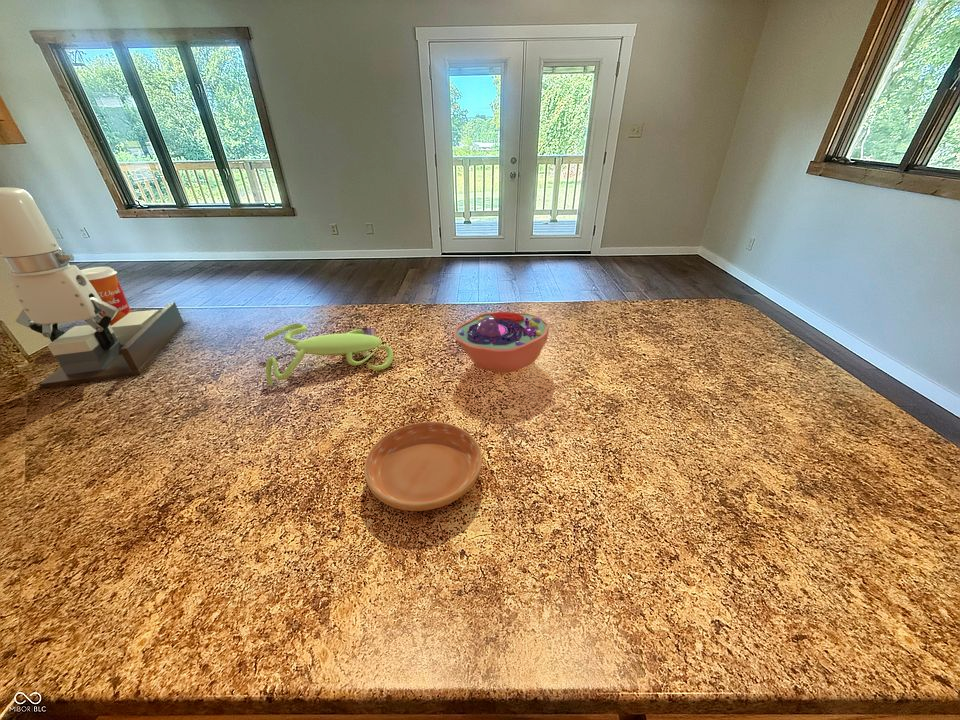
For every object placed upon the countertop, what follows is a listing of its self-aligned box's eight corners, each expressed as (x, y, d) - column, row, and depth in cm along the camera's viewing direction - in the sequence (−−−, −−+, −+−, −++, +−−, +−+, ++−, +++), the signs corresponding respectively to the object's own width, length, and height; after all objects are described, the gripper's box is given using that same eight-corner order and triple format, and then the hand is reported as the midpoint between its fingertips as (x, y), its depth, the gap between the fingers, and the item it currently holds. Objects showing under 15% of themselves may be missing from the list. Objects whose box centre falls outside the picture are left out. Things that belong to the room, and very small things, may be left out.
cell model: (565, 367, 78) (572, 317, 72) (484, 398, 69) (483, 343, 63) (516, 336, 90) (518, 291, 85) (441, 359, 81) (438, 310, 76)
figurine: (273, 345, 87) (266, 323, 85) (391, 332, 93) (388, 311, 90) (251, 389, 72) (242, 364, 69) (394, 371, 77) (391, 347, 74)
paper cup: (100, 332, 94) (69, 277, 87) (103, 321, 100) (74, 269, 93) (139, 324, 98) (113, 271, 91) (140, 314, 104) (115, 263, 97)
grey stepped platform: (41, 388, 73) (22, 361, 70) (109, 332, 94) (97, 309, 91) (140, 374, 77) (126, 348, 74) (184, 323, 98) (174, 302, 95)
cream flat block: (53, 355, 73) (46, 345, 72) (79, 335, 80) (74, 326, 79) (91, 350, 74) (85, 340, 73) (114, 331, 82) (109, 322, 81)
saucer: (392, 429, 61) (390, 415, 60) (490, 440, 59) (490, 425, 58) (346, 512, 48) (341, 496, 46) (470, 531, 45) (469, 514, 44)
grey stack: (64, 375, 75) (51, 356, 73) (89, 353, 82) (78, 335, 80) (103, 370, 76) (92, 351, 74) (125, 349, 84) (115, 331, 82)
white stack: (117, 345, 86) (108, 328, 83) (136, 328, 93) (127, 312, 91) (151, 341, 87) (143, 324, 85) (166, 325, 95) (159, 309, 93)
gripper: (105, 253, 74) (146, 335, 83) (-8, 261, 70) (48, 347, 79) (84, 263, 68) (131, 351, 77) (-42, 273, 64) (23, 365, 73)
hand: (88, 348), depth 78 cm, fingers closed on grey stack, 6 cm apart
